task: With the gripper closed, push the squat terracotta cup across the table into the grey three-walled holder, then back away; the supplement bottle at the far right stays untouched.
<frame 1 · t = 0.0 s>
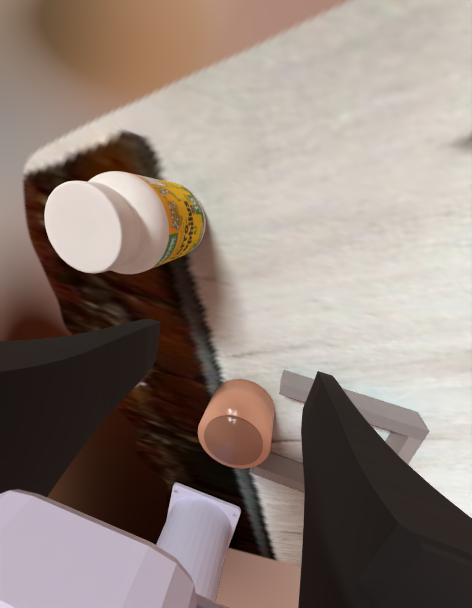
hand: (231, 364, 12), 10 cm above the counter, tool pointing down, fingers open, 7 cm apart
supplement bottle: (176, 221, 21), on the counter
holder: (327, 435, 24), on the counter
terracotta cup: (242, 406, 25), on the counter
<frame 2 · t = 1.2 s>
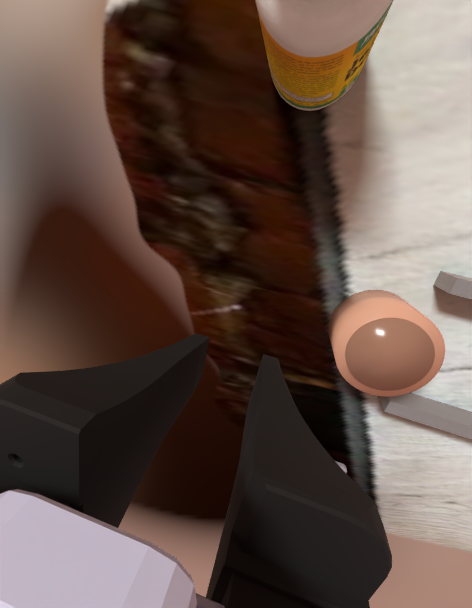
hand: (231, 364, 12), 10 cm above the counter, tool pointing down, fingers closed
supplement bottle: (316, 61, 16), on the counter
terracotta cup: (370, 328, 20), on the counter
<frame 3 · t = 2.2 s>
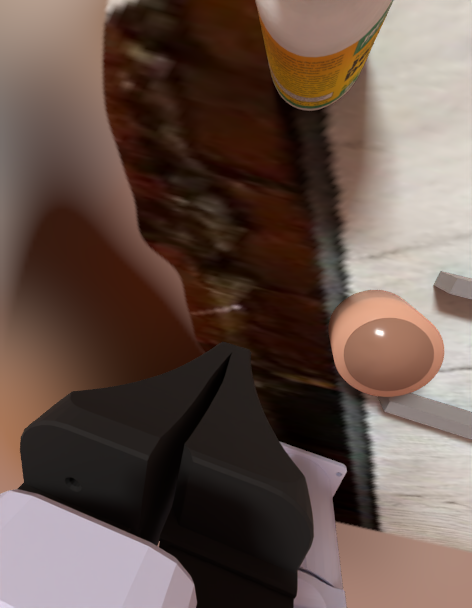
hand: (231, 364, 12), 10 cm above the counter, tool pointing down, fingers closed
supplement bottle: (316, 61, 16), on the counter
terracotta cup: (370, 328, 20), on the counter
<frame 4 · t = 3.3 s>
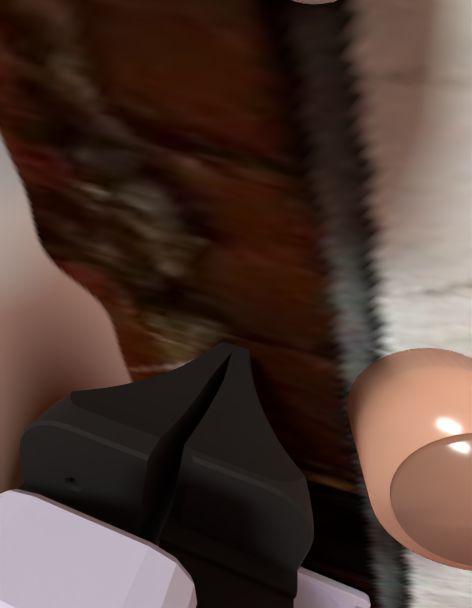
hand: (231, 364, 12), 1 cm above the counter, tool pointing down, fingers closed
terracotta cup: (420, 410, 12), on the counter
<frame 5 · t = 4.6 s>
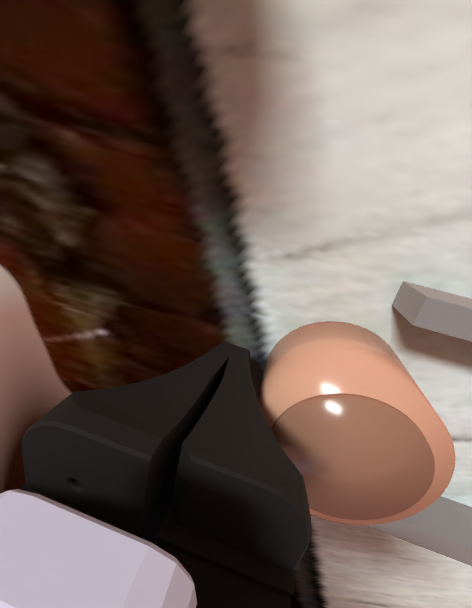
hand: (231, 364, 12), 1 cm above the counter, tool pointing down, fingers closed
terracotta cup: (329, 382, 12), on the counter, touching gripper
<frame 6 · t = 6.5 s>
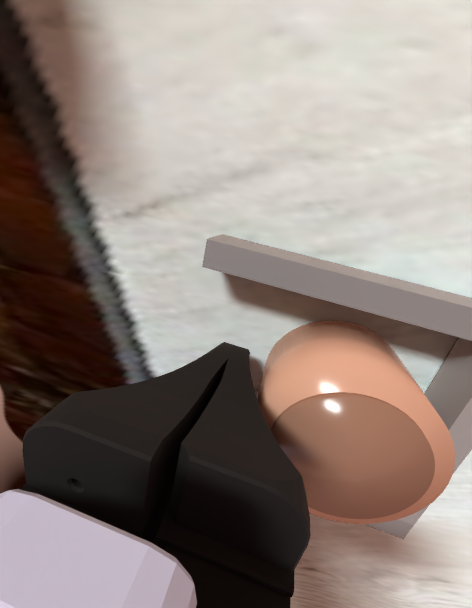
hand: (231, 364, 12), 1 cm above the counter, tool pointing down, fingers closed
holder: (313, 376, 12), on the counter
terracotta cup: (329, 381, 12), resting in holder, touching gripper
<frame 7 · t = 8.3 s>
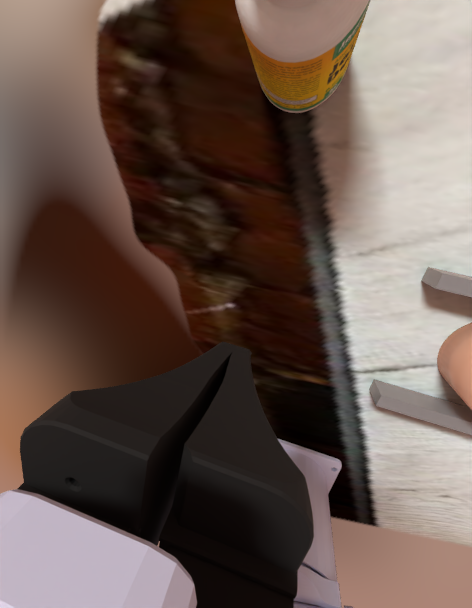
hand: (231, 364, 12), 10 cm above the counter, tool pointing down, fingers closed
supplement bottle: (301, 65, 16), on the counter
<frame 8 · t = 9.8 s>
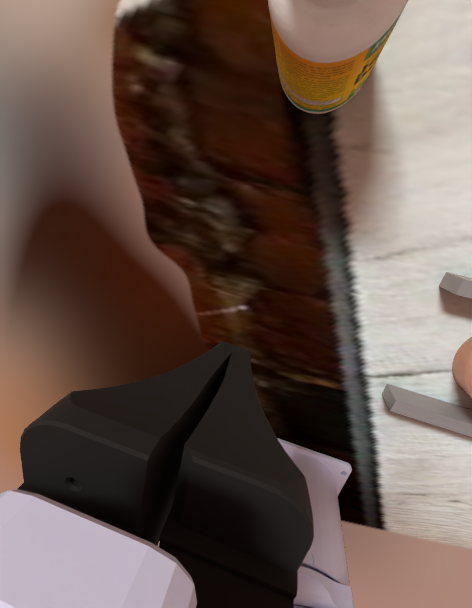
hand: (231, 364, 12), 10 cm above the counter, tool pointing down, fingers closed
supplement bottle: (324, 65, 16), on the counter
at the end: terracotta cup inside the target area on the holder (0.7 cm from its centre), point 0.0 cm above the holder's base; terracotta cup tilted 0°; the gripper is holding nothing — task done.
